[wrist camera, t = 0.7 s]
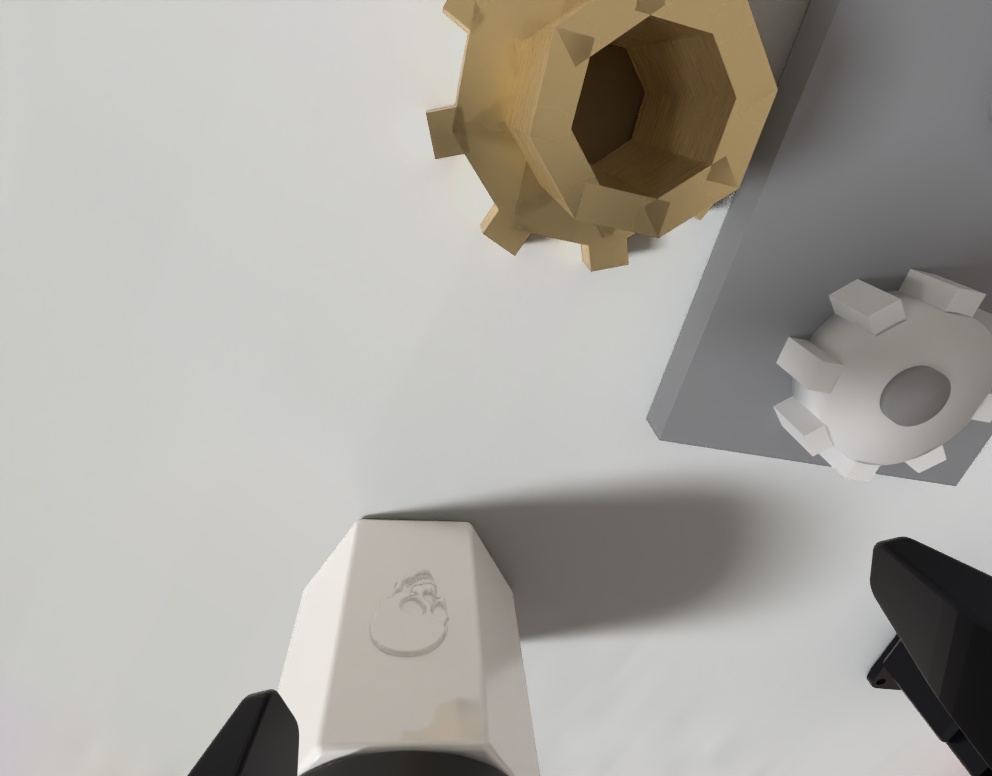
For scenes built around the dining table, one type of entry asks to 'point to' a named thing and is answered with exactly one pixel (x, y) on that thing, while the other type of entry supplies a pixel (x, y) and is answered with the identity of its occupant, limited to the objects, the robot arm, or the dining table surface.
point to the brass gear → (553, 101)
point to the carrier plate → (854, 257)
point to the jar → (409, 659)
